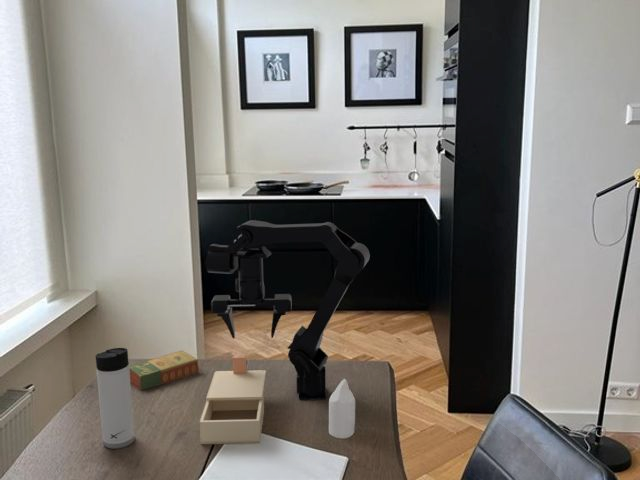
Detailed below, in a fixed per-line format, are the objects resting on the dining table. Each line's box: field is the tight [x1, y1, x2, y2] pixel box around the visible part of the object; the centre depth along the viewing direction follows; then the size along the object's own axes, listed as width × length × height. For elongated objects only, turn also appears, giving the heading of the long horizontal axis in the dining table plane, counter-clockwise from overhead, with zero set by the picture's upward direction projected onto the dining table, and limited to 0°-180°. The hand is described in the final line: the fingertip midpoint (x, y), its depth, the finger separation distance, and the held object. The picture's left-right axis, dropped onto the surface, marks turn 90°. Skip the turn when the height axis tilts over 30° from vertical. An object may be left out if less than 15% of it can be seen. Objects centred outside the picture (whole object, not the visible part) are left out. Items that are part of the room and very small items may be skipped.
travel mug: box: [95, 347, 136, 450], centre depth 128 cm, size 6×7×20 cm
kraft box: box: [199, 389, 265, 446], centre depth 135 cm, size 12×14×5 cm
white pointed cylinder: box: [328, 378, 356, 440], centre depth 131 cm, size 6×12×6 cm
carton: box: [129, 350, 199, 391], centre depth 161 cm, size 8×16×4 cm, turn 130°
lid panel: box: [205, 354, 267, 402], centre depth 142 cm, size 12×14×5 cm
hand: (253, 337), depth 151 cm, fingers open, 9 cm apart
